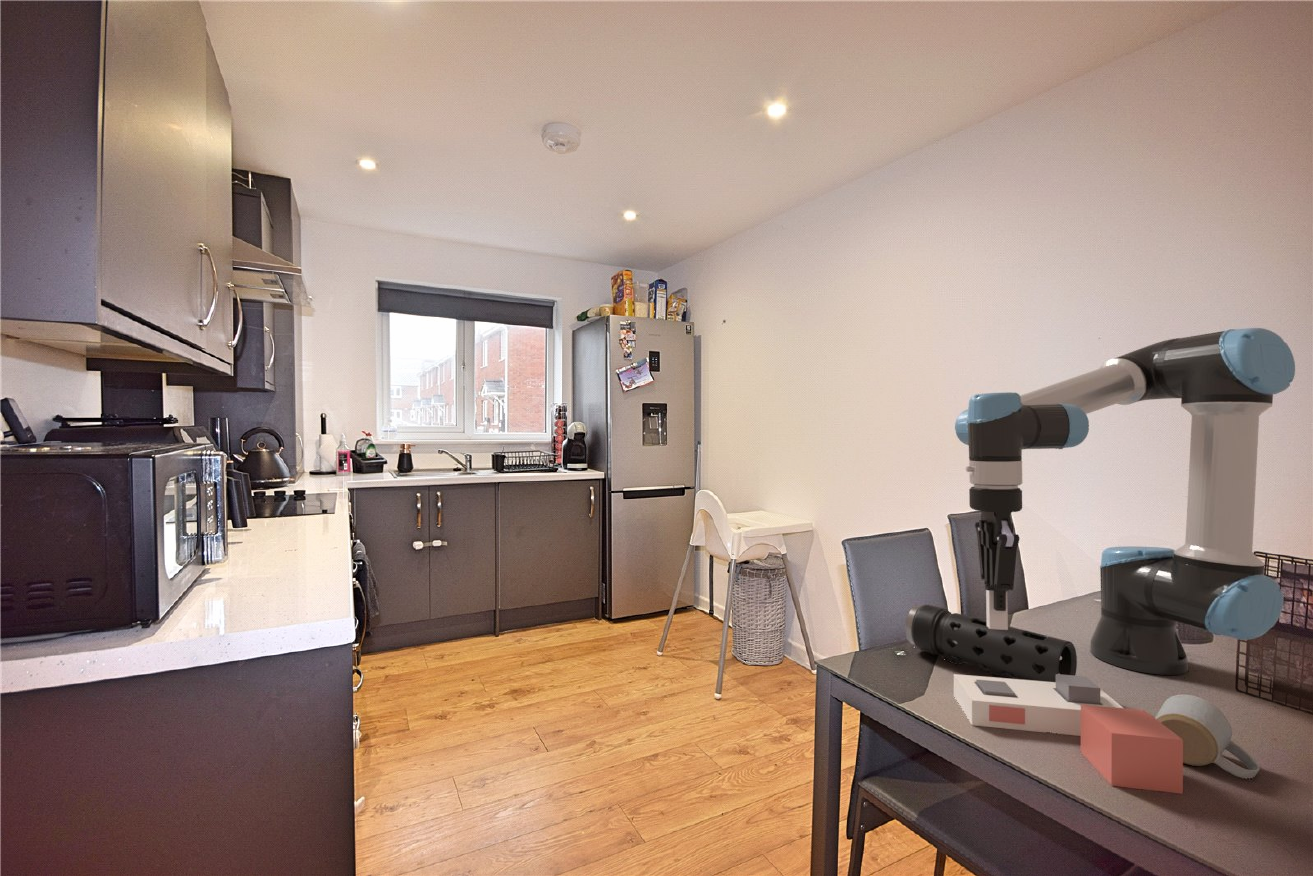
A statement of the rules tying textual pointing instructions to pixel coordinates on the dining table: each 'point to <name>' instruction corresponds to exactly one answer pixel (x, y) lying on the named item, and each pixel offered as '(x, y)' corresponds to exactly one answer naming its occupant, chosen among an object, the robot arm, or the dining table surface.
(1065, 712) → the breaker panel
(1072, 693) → the button plain
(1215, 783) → the dining table surface
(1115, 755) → the salmon red cube
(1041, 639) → the muzzle brake
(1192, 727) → the ceramic mug
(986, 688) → the button tagged
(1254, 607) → the robot arm
